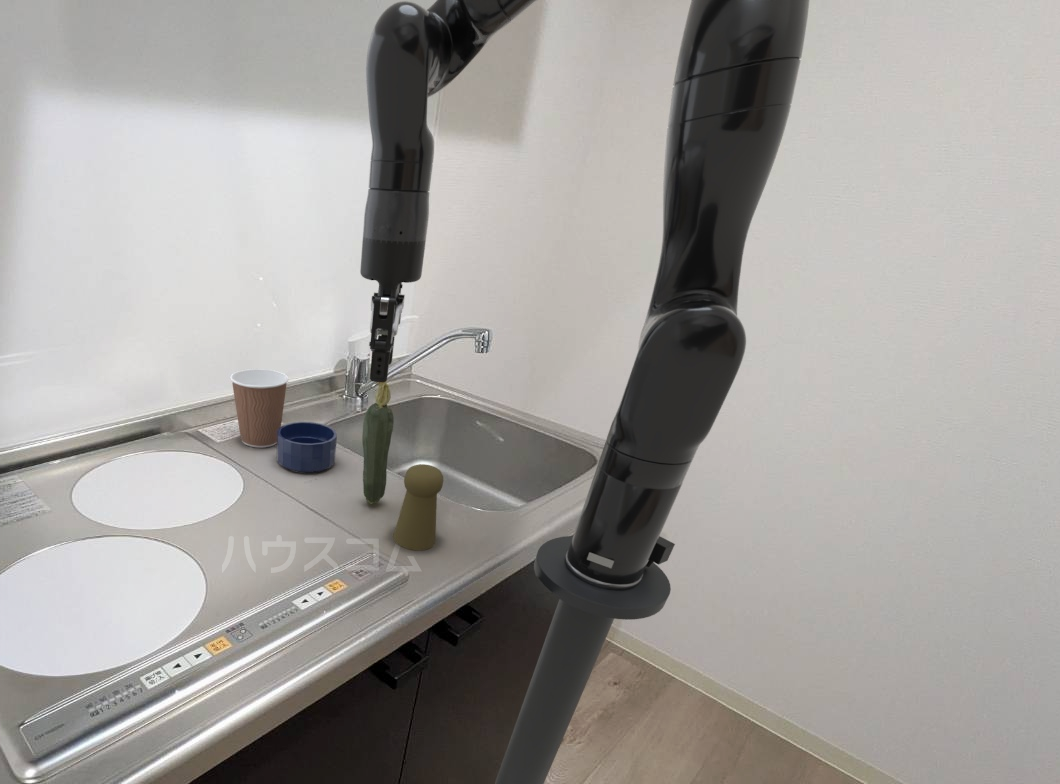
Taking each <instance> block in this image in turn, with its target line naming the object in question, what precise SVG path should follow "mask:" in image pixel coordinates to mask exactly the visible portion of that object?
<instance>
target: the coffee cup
mask: <svg viewBox="0 0 1060 784" xmlns="http://www.w3.org/2000/svg"><path fill="white" fill-rule="evenodd" d="M229 379H230V381H231V382H232V384H231V385H232V390H233V391H232V392H233V398H234V404H235V410H236V416H237V417H236V418H237V423H238V430H239V436H240V439H241V442H242V443H243V444H244V445H246V446H248V447H251V448H258V449H260V448H270V447H273V446H275V445H277V431H278V429H279V428H280V427H281V426H282V421H283V414H284V406H285V399H286V393H287V392H286V391H287V385H288V384H287V383H288V382H289V380H290V379H289V376H288V375H287V374H286V373H284V372H281V371H278V370H274V369H268V368H247V369H241V370H238V371H235V372H233V373H231V375H230V377H229Z"/></svg>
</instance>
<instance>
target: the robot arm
mask: <svg viewBox="0 0 1060 784" xmlns="http://www.w3.org/2000/svg"><path fill="white" fill-rule="evenodd" d="M537 1H538V0H436V1H434V2H433V4H431V5H430V6H429V7H428V8H427V9H426V8H425V7H423V6H422V5H420V4H418V3H416V2H412V1H407V0H406V1H405V0H404V1H398V2H394V3H393V4H391V5H390V6H388V7H386V9H385V10H384V11H383V12H382V13H381V15H380V16H379V17H378V19H377V20H376V22H375V24H374V26H373V29H372V32H371V35H370V38H369V42H368V48H367V53H366V65H365V79H366V81H365V82H366V83H365V84H366V96H367V108H368V109H367V110H368V120H369V127H370V135H371V136H370V137H371V151H370V162H369V175H368V190H367V197H366V203H365V208H364V215H363V216H364V217H363V229H362V230H363V231H362V242H361V244H362V245H361V257H360V268H359V269H360V270H359V272H360V276H361V277H362V278H364V279H365V280H368V281H376V282H377V284H378V290H377V292H373V295H372V296H371V299H370V311H371V315H370V321H369V322H370V323H369V332H370V341H369V342H368V343H369V344H368V346H369V349H370V351H371V360H370V371H369V380H370V381H371V382H374V383H379V382H386V383H387V381H388V377H389V376H388V375H389V366H390V365H391V364H392V363H393V357H394V347H395V337H396V336H397V335H398V331H399V326H400V325H401V319H402V313H403V310H404V306H405V299H406V298H405V297H406V294H402V289H403V283H404V284H405V283H406V284H407V283H415V282H418V281H419V280H420V279H421V278H422V274H423V265H424V259H425V258H424V257H425V249H426V241H427V233H428V227H429V226H428V225H429V217H430V190H431V184H432V183H431V182H432V174H433V168H434V167H433V166H434V158H435V138H434V135H433V133H432V131H431V129H430V127H429V125H428V100H429V98H431V97H433V96H435V95H436V94H437V93H439V92H440V91H442V90H443V89H444V88H446V87H447V86H448V85H449V84H451V83H452V82H453V81H454V80H456V79H457V77H458V76H460V75H461V73H462V72H463V71H464V70H465V69H466V68H467V66H469V64H471V62H472V61H473V60H474V59H475V58H476V57H477V55H478V54H480V53H481V51H482V50H483V49H484V48H485V46H486V45H487V44H488V43H489V41H491V39H492V38H493V37H494V36H495V35H496V34H497V33H499V32H500V31H501V30H503V29H504V28H505V27H507V26H508V25H509V24H511V23H512V21H515V20H516V19H517V18H518V17H519V16H520V15H522V14H523V13H524V12H525V11H527V9H529V8H530V7H531V6H532V5H533V4H535V3H536V2H537ZM809 8H810V0H691V1H690V4H689V7H688V12H687V16H686V19H685V24H684V28H683V32H682V37H681V43H680V47H679V50H678V56H677V62H676V66H675V72H674V77H673V83H672V85H673V87H672V91H671V98H670V106H669V115H668V120H667V121H668V122H667V129H666V139H665V150H664V151H665V152H664V166H663V184H662V185H663V186H662V187H663V188H662V240H661V247H660V255H659V261H658V266H657V271H656V275H655V280H654V285H653V288H652V289H653V290H652V293H651V297H650V301H649V305H648V308H647V313H646V316H645V320H644V323H643V326H642V329H641V331H640V336H639V340H638V347H637V353H636V356H635V358H634V362H633V365H632V367H631V370H630V373H629V377H628V380H627V382H626V386H625V388H624V391H623V395H622V397H621V400H620V403H619V405H618V408H617V410H616V413H615V415H614V416H613V418H612V421H611V424H610V428H609V430H608V433H607V436H606V439H605V442H604V446H603V448H602V452H601V455H600V457H599V459H598V463H597V466H596V469H595V472H594V475H593V478H592V480H591V483H590V487H589V490H588V493H587V496H586V499H585V501H584V504H583V507H582V510H581V512H580V515H579V518H578V522H577V524H576V527H575V530H574V532H573V535H572V536H573V538H572V541H571V544H570V547H569V550H568V551H567V553H566V556H565V565H566V567H567V569H568V570H569V571H570V572H571V573H572V574H573V575H574V576H576V577H577V578H579V579H580V580H582V581H584V582H586V583H588V584H591V585H593V586H596V587H599V588H603V589H608V590H629V589H632V588H635V587H636V586H638V585H639V583H640V581H641V579H642V576H643V572H644V570H645V567H646V566H647V567H650V565H651V564H652V563H655V564H656V565H657V566H659V565H661V564H663V563H665V562H668V561H669V558H670V556H671V554H672V552H673V550H674V547H675V545H676V543H674V542H672V541H670V540H668V539H666V538H664V537H662V536H661V533H662V531H663V529H664V528H665V524H666V522H667V520H668V518H669V515H670V514H671V511H672V509H673V506H674V505H675V502H676V499H677V497H678V495H679V493H680V490H681V488H682V486H683V483H684V481H685V479H686V476H687V474H688V472H689V469H690V467H691V465H692V463H693V460H694V458H695V456H696V454H697V451H698V449H699V447H700V446H701V445H702V443H703V442H704V441H705V440H706V439H707V437H708V435H709V434H710V432H711V430H712V428H713V426H714V424H715V422H716V419H717V417H718V415H719V413H720V411H721V409H722V407H723V406H724V403H725V400H726V398H727V396H728V394H729V392H730V390H731V388H732V386H733V383H734V381H735V379H736V377H737V374H738V372H739V369H740V367H741V365H742V362H743V359H744V356H745V352H746V349H747V348H746V347H747V335H746V329H745V327H744V324H743V323H742V321H741V319H740V318H739V316H738V302H739V289H740V281H741V273H742V266H743V265H742V263H743V256H744V251H745V246H746V241H747V237H748V233H749V230H750V227H751V225H752V222H753V221H752V220H753V217H754V215H755V213H756V211H757V208H758V205H759V203H760V200H761V197H762V196H763V192H764V191H765V188H766V186H767V183H768V180H769V177H770V174H771V172H772V169H773V166H774V164H775V160H776V158H777V155H778V152H779V148H780V147H781V142H782V140H783V136H784V134H785V131H786V130H785V129H786V126H787V123H788V119H789V116H790V112H791V107H792V103H793V98H794V94H795V89H796V85H797V80H798V75H799V69H800V67H801V66H800V65H801V62H802V61H801V59H802V55H803V50H804V44H805V39H806V32H807V26H808V25H807V24H808V16H809Z"/></svg>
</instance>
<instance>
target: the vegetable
mask: <svg viewBox="0 0 1060 784" xmlns="http://www.w3.org/2000/svg"><path fill="white" fill-rule="evenodd" d="M377 385H378V387H377V390H376V392H375V397H374V399H375V403H372V404H371V405H370V406H369V407H368V408H367V409H366V411H365V413H364V417H363V423H362V439H361V440H362V452H363V471H362V482H363V483H362V485H363V487H362V489H363V495H364V498H365V500H366V502H368V503H369V504H370V505H372V504H374V503H378V502H379V501H380V500H381V499H382V498H383V497H384V496H385V492H386V486H387V474H388V473H387V467H388V459H389V451H390V446H391V440H392V436H393V431H394V421H395V419H394V413H393V410H392V409H391V407H390V406H389V405H388V404H389V402H390V401H391V398H392V397H391V389H390V387H389V384H388V383H387V381H386V382H377Z"/></svg>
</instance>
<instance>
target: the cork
mask: <svg viewBox="0 0 1060 784" xmlns="http://www.w3.org/2000/svg"><path fill="white" fill-rule="evenodd" d="M403 483H404V488H405V489H406V492H405V494H404V498H403V501H402V505H401V508H400V511H399V515H398V519H397V522H396V525H395V527H394V528H395V529H394V532H393V536H392V538H393V541H394V542H395V543H396V544H397V545H398V546H400V547H402V548H404V549H407V550H412V551H426V550H429V549H432V548H433V547H434V546H435V545H436V537H437V536H436V535H437V533H436V532H437V509H438V507H437V505H438V494H439V493H440V492H441V490H442V489H443V486H444V475H443V472H442V471H441V470H440V469H439V468H438V467H435V466H434V465H430V464H426V463H425V464H424V463H421V464H420V463H419V464H414V465H411V466H410V467H409V468H408V469H407V470H406V472H405V474H404V478H403Z"/></svg>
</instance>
